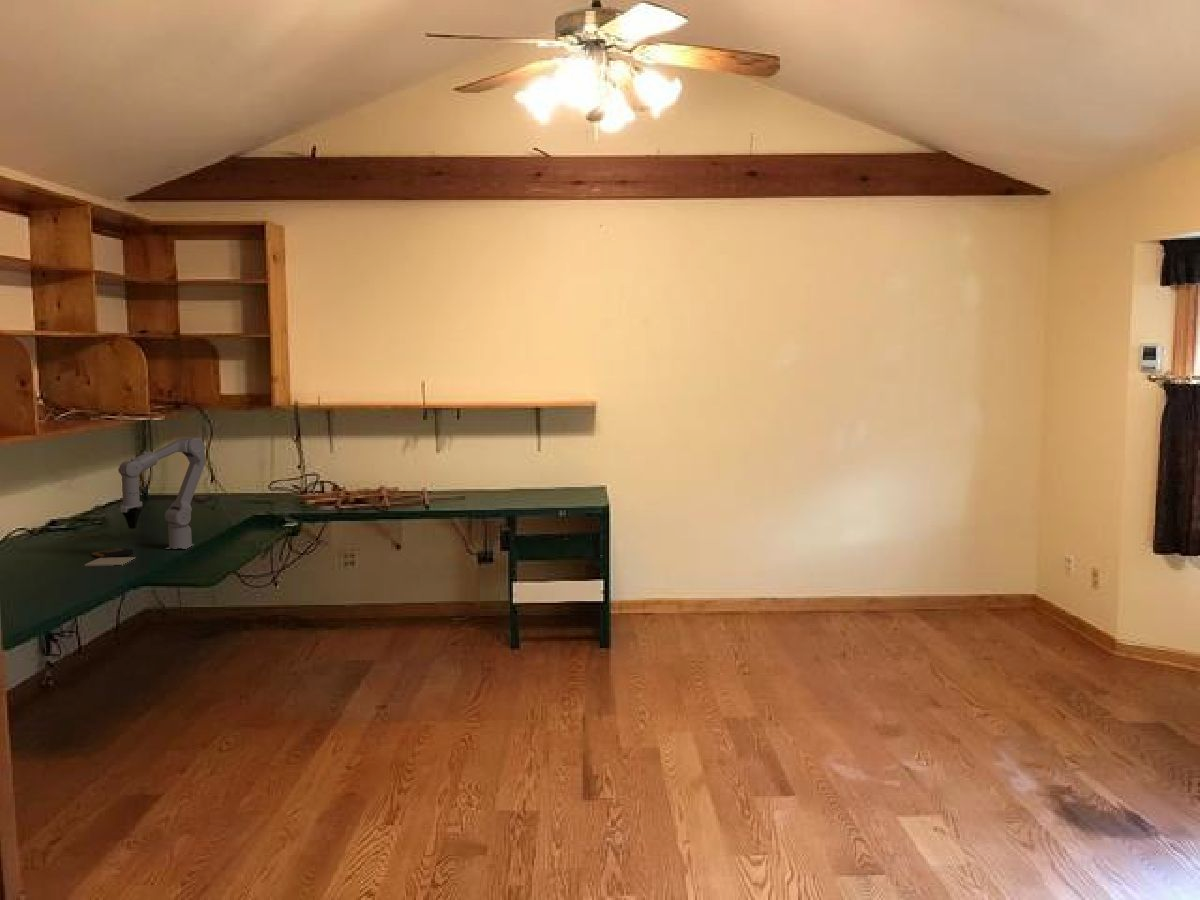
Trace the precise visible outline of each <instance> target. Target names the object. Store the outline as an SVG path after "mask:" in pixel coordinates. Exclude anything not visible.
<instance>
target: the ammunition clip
mask: <svg viewBox="0 0 1200 900" xmlns="http://www.w3.org/2000/svg"><path fill="white" fill-rule="evenodd" d="M91 554H92V556H95V557H98V558H113V557H122V556H123V557H124V556H129V555H134V550H133V548H116V549H110V550H103V551H97V552H92V553H91Z"/></svg>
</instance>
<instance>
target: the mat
mask: <svg viewBox="0 0 1200 900" xmlns="http://www.w3.org/2000/svg"><path fill="white" fill-rule="evenodd" d="M135 558H136V559H137V557H136V556H133V557H130V556H128V557H126V556H125V557H124V556H123V557H122V556H116V557H109V558H101V557H98V558H96V559H94V560H92V561H89V562H87V563H85V564H84V567H115V566H114V565H122V566H124V565H126V564H128V563H130V562H132V561H131V560H133V559H135ZM136 559H135V560H136ZM129 561H130V562H129ZM133 561H134V560H133ZM127 562H128V563H127ZM125 563H126V564H125ZM123 564H124V565H123Z"/></svg>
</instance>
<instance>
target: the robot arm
mask: <svg viewBox="0 0 1200 900" xmlns="http://www.w3.org/2000/svg"><path fill="white" fill-rule="evenodd" d="M205 451H206V445H205V443H204V442H203V440H202V439H201V438H198V437H189V436H183V437H181V438H178V439H176V440H174V441H173V442H171V443H168V444H167V445H165V446H163V447H161V448H159V449H157V450H155V451H154V452H152V451H142V452H141V455H139V456H136V457H131V458H130V461H129V460H125V461H123V462H121V463H120V465H119V468H118V470H117V471H118V473H119V474H120V475H121V488H122V491H121V492H122V503H121V504H119V509H120V510H119V511H120V513H122V515H123V516H124V518H125V520H126V524H127V525H128V526H127V527H128V529H129V530H130V529H137V525H138V521H139V517H140V514H141V512H142V508H141V507H143V501H140V499H141V498H140V482H139V475H140V474H141V473H143V472H144V471H145V470H148V469H150V468H152V467H153V466H156V465H157V464H158V461H159V460H161V459H164V458H165V457H168V456H170V455H172V454H175V453H182V454H183V455H184V456H185V457H186V458H187V460H188V462H189V464H188V466H187V469H186V472H185V475H184V476H183V477H184V478H183V480H182V482H181V483H182V484H181V485H180V488H179V492H178V494H177V496H176V498H175V500H174V501H172V503H171V504H170V506H169V508H168V509H167V510H166V511H165V512H164V513H165V514H164V519H165V521H166V522H167V524H168V525H167V526H168V527H167V530H168V531H167V532H168V547H166V548H165V549H170V548H173V549H177V548H182V549H186V550H187V548H188V549H190V548H191V546H192V547H194V546H195V543H193V540H192V539H193V538H192V528H191V527H190V526H189V523H190V522H191V521H192V520H191V519H192V511H193V508H192V506H191V503H192V500H193V497H194V495H195V492H196V489H197V486H198V484H199V481H200V478H201V476H202V474H203V470H204V467H205V465H206V462H207V460H206V452H205ZM193 545H194V546H193ZM189 547H190V548H189Z"/></svg>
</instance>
